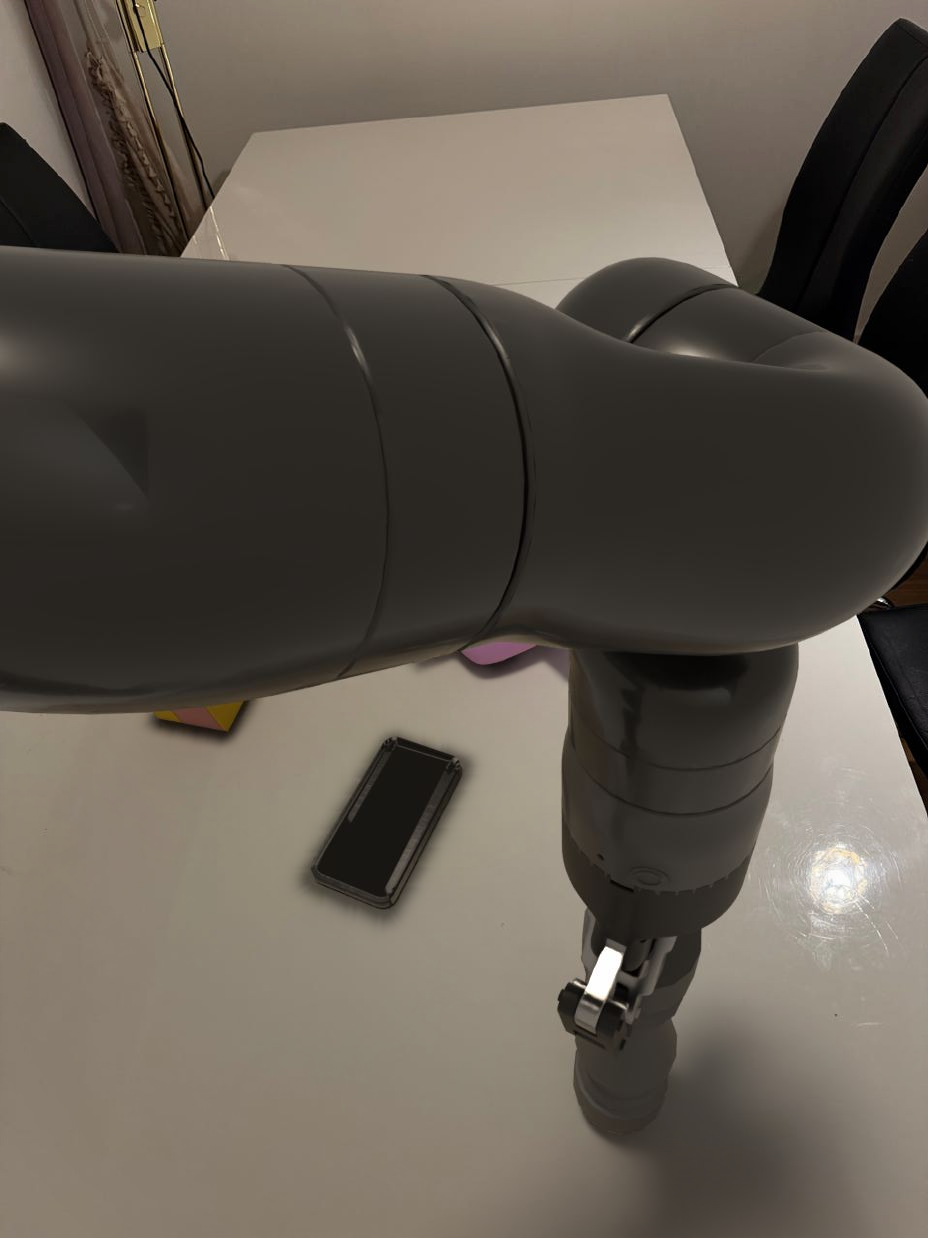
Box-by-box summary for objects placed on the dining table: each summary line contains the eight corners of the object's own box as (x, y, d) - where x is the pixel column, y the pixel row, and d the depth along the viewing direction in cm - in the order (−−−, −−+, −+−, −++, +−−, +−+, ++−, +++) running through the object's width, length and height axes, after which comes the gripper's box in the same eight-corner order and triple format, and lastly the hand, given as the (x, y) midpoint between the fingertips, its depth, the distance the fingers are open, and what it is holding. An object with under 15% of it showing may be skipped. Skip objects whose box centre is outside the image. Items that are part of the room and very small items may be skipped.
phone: (464, 759, 82) (387, 906, 74) (465, 766, 83) (389, 912, 75) (387, 733, 85) (304, 872, 76) (389, 740, 86) (307, 878, 77)
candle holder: (671, 1133, 60) (719, 993, 42) (577, 1136, 61) (583, 998, 42) (657, 1034, 64) (695, 868, 46) (569, 1037, 65) (571, 873, 46)
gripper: (638, 634, 40) (621, 827, 53) (484, 914, 32) (507, 1063, 45) (811, 693, 37) (750, 881, 50) (690, 1015, 29) (653, 1144, 42)
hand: (635, 967), depth 47 cm, fingers closed on candle holder, 5 cm apart
